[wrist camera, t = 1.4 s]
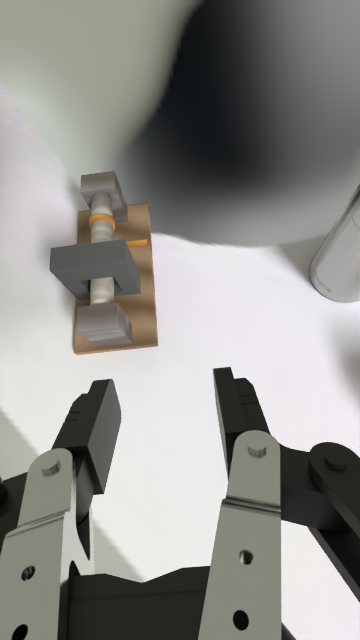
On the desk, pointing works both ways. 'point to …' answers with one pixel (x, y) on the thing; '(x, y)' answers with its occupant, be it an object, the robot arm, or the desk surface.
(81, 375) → the desk surface
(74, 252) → the gray notched block
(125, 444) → the desk surface
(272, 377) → the desk surface
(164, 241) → the desk surface
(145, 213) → the pipe stand
